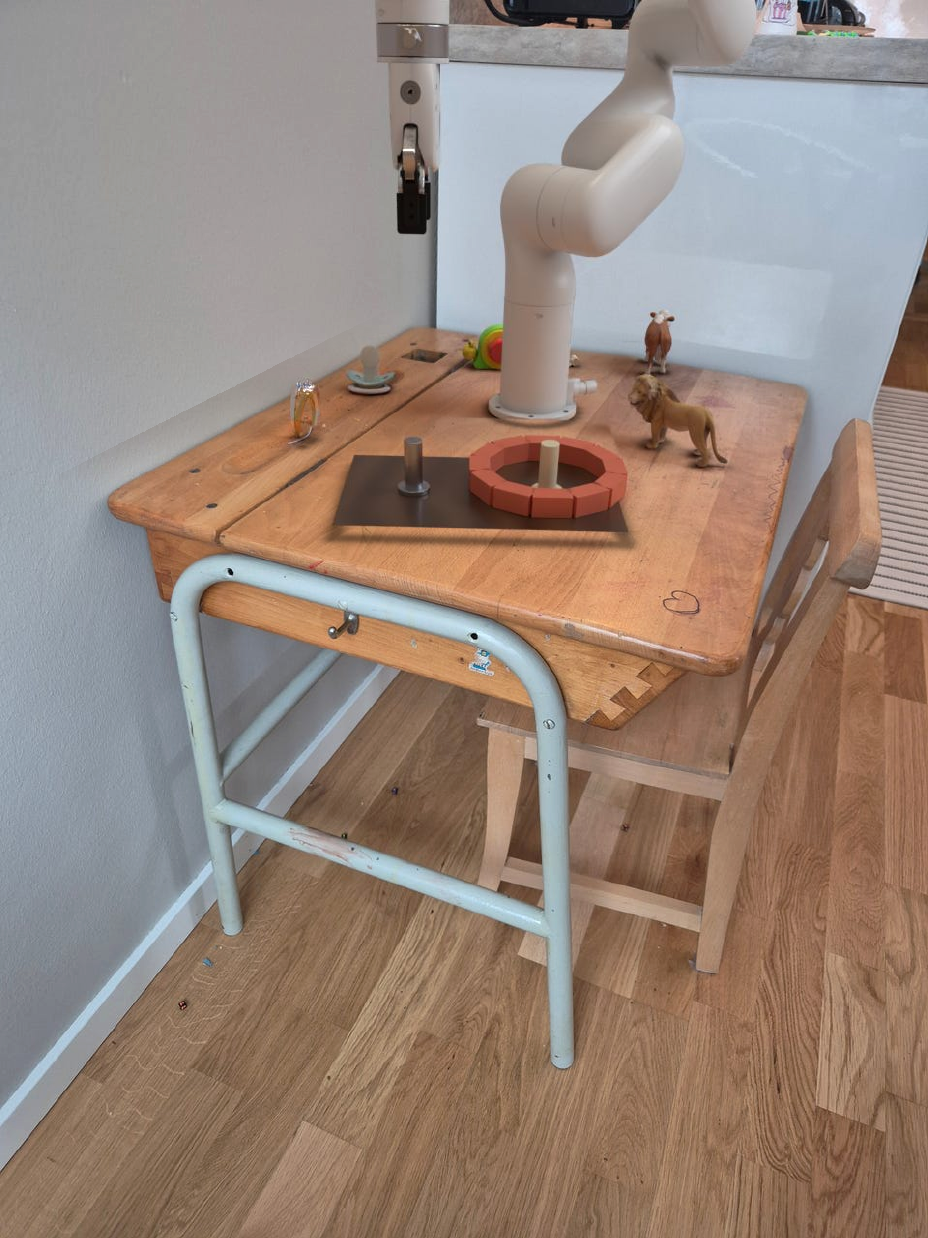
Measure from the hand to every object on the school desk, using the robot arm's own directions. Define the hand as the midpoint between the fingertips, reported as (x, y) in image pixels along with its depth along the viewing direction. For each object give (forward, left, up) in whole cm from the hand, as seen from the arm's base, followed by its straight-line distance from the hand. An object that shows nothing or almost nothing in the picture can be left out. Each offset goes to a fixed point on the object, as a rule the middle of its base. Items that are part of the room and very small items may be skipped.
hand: (414, 226), depth 98 cm
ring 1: (+13, -6, -26) cm, 30 cm away
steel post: (+7, +16, -25) cm, 30 cm away
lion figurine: (-30, +14, -26) cm, 42 cm away
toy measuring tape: (-28, -26, -26) cm, 46 cm away
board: (-1, +19, -26) cm, 32 cm away
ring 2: (-8, +20, -25) cm, 33 cm away
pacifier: (-1, -23, -26) cm, 35 cm away
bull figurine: (-49, -18, -26) cm, 59 cm away
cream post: (-7, +23, -25) cm, 34 cm away
